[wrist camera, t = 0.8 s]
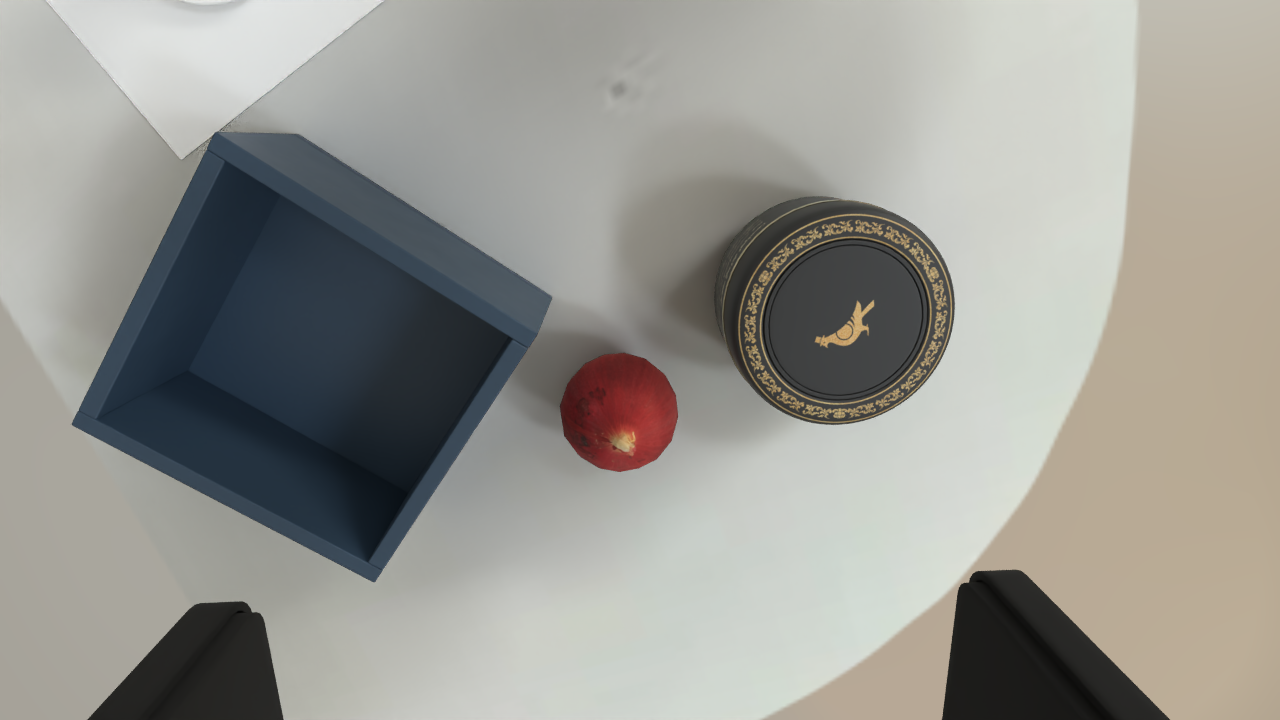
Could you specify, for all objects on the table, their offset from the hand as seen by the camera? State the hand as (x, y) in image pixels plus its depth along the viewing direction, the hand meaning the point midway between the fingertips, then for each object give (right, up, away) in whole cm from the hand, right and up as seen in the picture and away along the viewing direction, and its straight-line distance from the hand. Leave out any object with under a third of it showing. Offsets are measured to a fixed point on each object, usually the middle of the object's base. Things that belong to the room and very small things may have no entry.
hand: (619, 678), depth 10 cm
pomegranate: (-1, +3, +30) cm, 30 cm away
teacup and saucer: (-20, +27, +21) cm, 40 cm away
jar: (+9, +8, +28) cm, 31 cm away
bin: (-14, +6, +28) cm, 32 cm away
